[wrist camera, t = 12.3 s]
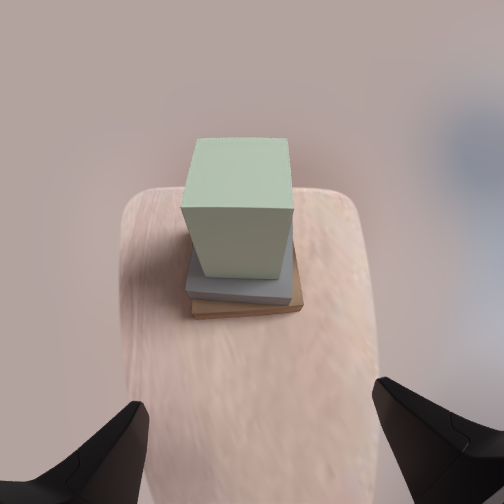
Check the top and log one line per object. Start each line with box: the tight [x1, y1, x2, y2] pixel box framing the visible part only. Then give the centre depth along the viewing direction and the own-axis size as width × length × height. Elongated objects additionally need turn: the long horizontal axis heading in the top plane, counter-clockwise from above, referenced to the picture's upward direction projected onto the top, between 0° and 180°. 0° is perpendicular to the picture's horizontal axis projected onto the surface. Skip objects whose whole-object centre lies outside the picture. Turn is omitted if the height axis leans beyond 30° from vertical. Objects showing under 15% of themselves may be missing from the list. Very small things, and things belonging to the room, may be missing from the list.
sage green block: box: [180, 138, 294, 279], centre depth 18 cm, size 6×6×8 cm
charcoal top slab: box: [185, 221, 293, 306], centre depth 23 cm, size 8×8×2 cm
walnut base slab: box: [192, 242, 304, 319], centre depth 25 cm, size 9×9×2 cm
